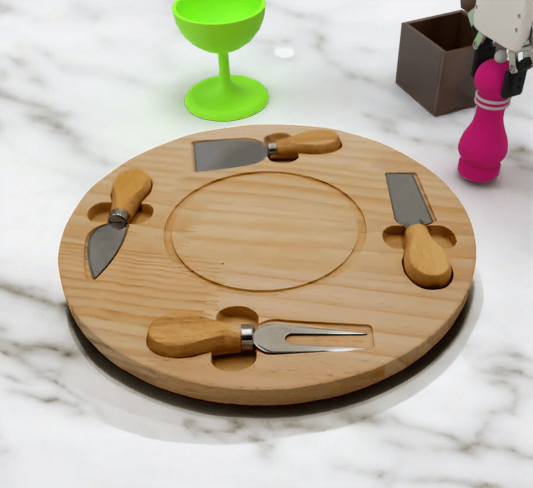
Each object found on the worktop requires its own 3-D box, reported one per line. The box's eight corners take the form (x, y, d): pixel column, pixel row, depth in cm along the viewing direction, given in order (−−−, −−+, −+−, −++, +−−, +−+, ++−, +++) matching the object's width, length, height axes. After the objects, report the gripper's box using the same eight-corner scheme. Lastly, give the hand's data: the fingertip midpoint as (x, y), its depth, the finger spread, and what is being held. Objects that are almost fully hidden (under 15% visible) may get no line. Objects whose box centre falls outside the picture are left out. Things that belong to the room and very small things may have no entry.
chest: (434, 117, 115) (444, 54, 107) (395, 82, 125) (401, 22, 117) (495, 101, 119) (509, 39, 111) (452, 68, 128) (462, 9, 120)
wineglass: (271, 118, 117) (268, 21, 105) (182, 123, 117) (169, 27, 105) (266, 75, 129) (263, -17, 117) (186, 80, 129) (174, -12, 116)
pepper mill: (493, 190, 98) (521, 67, 85) (447, 176, 101) (467, 56, 88) (508, 165, 103) (536, 45, 89) (463, 153, 106) (484, 35, 92)
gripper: (598, -32, 75) (559, 106, 87) (503, -72, 87) (480, 55, 99) (544, -20, 73) (512, 120, 85) (455, -62, 85) (438, 65, 97)
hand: (495, 84), depth 92 cm, fingers closed on pepper mill, 6 cm apart
